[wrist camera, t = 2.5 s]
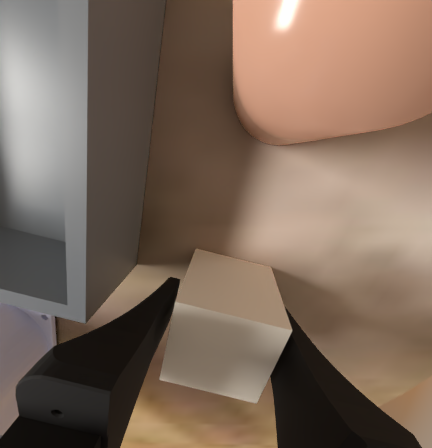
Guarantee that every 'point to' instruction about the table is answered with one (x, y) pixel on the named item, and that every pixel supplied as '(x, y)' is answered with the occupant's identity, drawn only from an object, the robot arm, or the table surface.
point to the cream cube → (226, 327)
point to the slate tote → (74, 147)
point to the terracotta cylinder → (330, 66)
